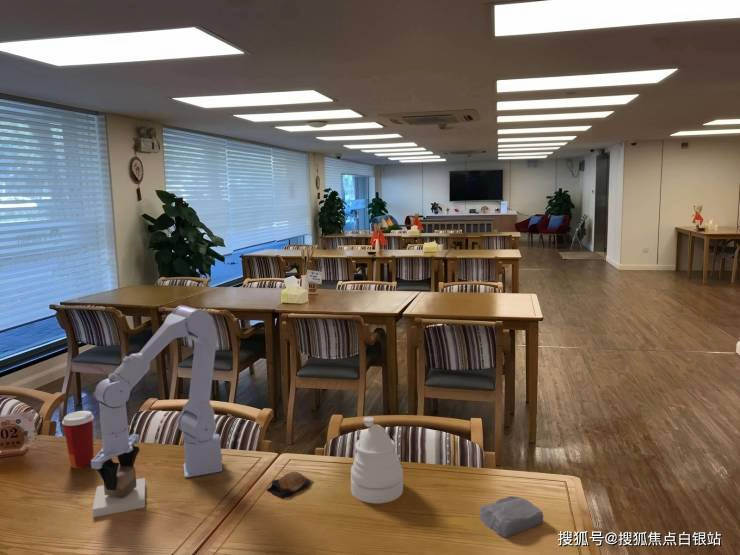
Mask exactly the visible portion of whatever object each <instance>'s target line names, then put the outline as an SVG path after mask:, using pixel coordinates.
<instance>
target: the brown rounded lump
mask: <svg viewBox="0 0 740 555" xmlns="http://www.w3.org/2000/svg"><path fill="white" fill-rule="evenodd" d="M313 483H315V482H314V480H313V479H310V478H307V476H305V475H303V474H302V473H300V472H298V471H290V472H288V473H285V474H284V475H283V476H281V477H280V478H278V479H273V480H271V485H270V487H268V488H267V489H266V491H267V492H269V493H270V494H272V495H274V496H275V497H277V498H278V499H289V498H291V497H293V496H295V495H297V494H299V493H300V492H302V491H304V490H306V489H307V488H308V487H310V486H311V485H312V484H313Z"/></svg>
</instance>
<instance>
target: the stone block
mask: <svg viewBox="0 0 740 555" xmlns="http://www.w3.org/2000/svg"><path fill="white" fill-rule="evenodd" d="M543 513H544V512H543V511H542V510H541V509H540V508H539V507H537V506H536V505H534V504H533V503H532V502H530V501H529V500H528V499H526V498H523V497H520V496H514V495H513V496H507V497H504V498H500V499H498V500H496V501H494V502H492V503H488V504H485V505H482V506H480V510H479V518H480V522H482V523H483V524H484V526H486V527H487V528H489V529H490V530H493V531H494V532H495V533H496V534H498V535H500V536H501V537H503V538H509V537H512V536H514V535H517V534H519V533H522V532H524V531H527V530H529V529H533V528H536V527H537V526H539V525H542V523H543V521H544V514H543Z"/></svg>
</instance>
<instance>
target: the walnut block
mask: <svg viewBox="0 0 740 555" xmlns="http://www.w3.org/2000/svg"><path fill="white" fill-rule="evenodd" d="M136 479H137V475H136V467H134V466H133V467H127V466H120V465H119V466H118V470H117V485H116V489H115V490H107V488H106V486H105V483H104V482H103V485H104V492H105V495H109V496H116V497H124V496H125V495H127V494H128V493H129V492H131V491H132V490H133V489H134V488H136V487H137V486H136Z"/></svg>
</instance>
